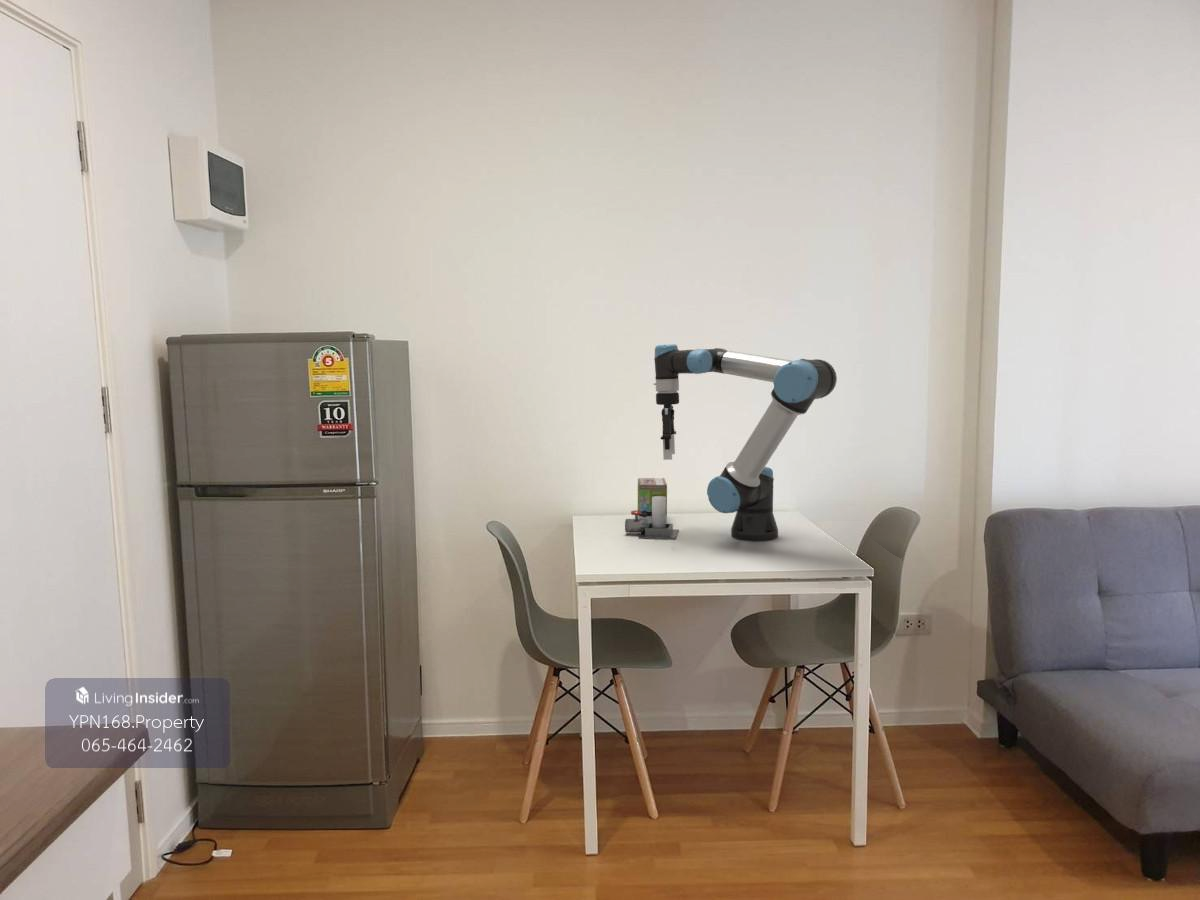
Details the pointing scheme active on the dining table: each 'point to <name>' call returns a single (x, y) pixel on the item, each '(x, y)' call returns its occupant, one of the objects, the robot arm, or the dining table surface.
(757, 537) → the robot arm
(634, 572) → the dining table surface
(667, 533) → the grey knobbed block
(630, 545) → the dining table surface
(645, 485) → the tea box
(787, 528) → the dining table surface
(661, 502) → the pipe
